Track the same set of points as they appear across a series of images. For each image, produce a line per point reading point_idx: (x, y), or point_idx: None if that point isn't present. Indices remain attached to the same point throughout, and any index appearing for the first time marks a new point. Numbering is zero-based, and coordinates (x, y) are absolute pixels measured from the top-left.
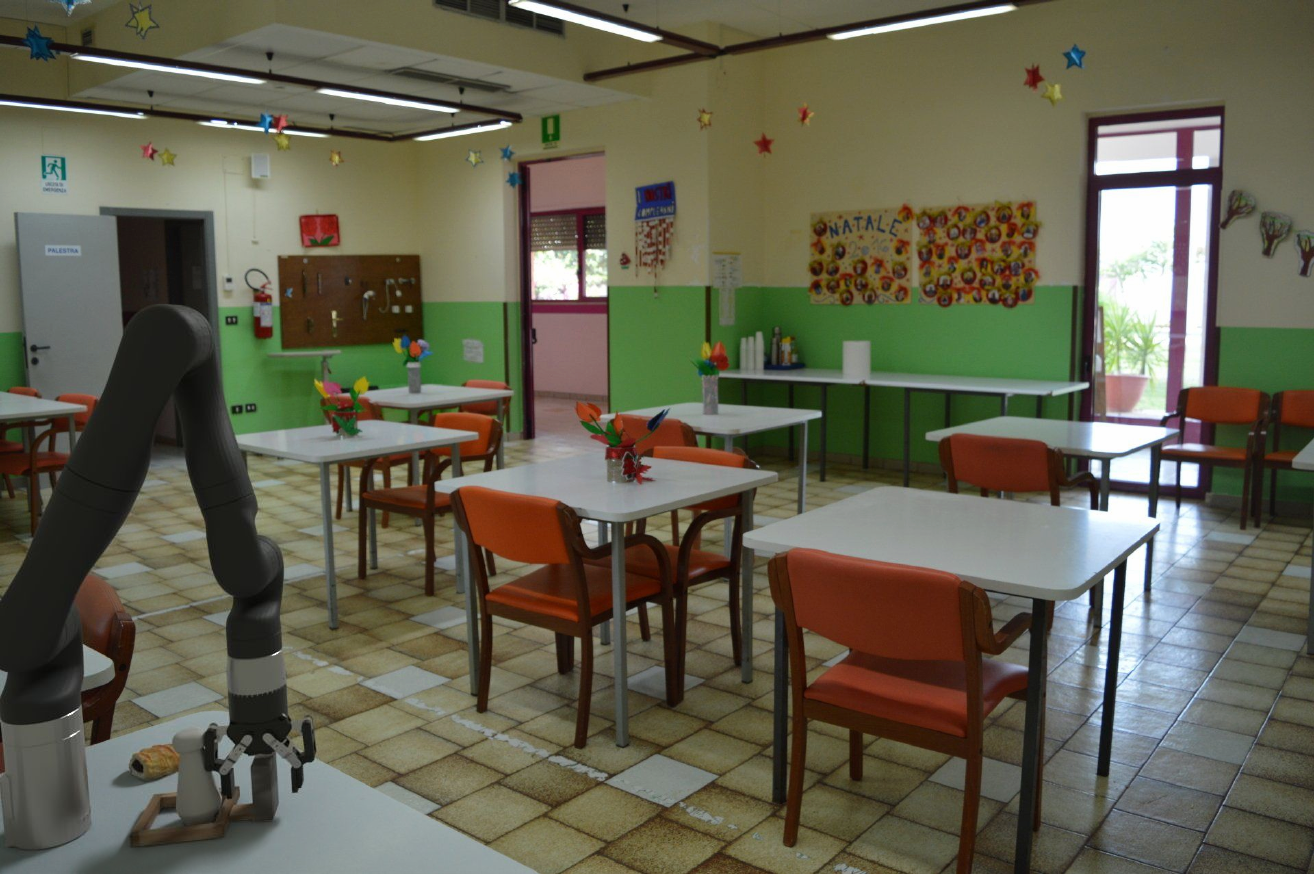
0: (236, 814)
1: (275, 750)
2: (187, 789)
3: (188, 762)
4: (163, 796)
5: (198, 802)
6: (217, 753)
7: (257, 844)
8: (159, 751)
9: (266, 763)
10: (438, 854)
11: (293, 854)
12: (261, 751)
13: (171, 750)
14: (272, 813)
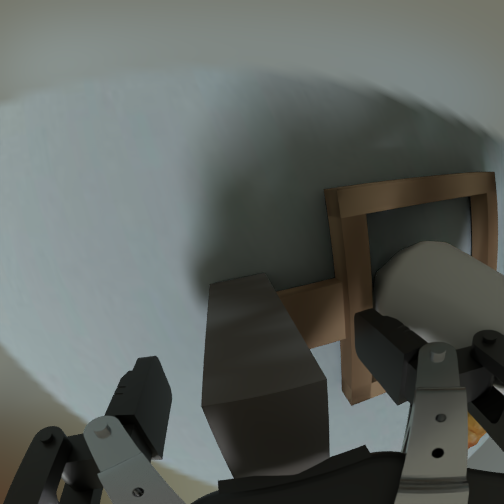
0: (324, 290)
1: (176, 496)
2: (488, 270)
3: None
4: None
5: (440, 259)
6: (480, 414)
7: (210, 157)
8: (477, 434)
9: (235, 423)
10: None
11: (96, 114)
12: (286, 488)
13: None
14: (209, 290)
